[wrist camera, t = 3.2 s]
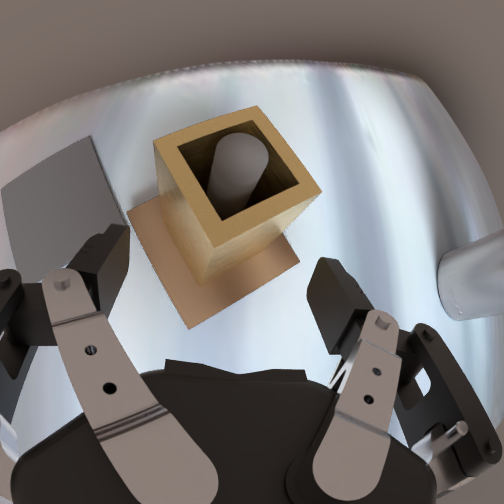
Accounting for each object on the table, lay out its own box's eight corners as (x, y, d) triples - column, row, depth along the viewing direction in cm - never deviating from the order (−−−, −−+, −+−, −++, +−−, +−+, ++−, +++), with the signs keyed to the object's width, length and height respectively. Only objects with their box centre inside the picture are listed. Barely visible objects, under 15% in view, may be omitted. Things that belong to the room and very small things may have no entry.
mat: (90, 138, 23) (89, 135, 22) (127, 229, 22) (126, 227, 21) (2, 191, 19) (0, 189, 19) (25, 290, 18) (22, 289, 18)
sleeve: (226, 192, 22) (257, 105, 13) (263, 251, 22) (322, 191, 12) (163, 222, 21) (153, 140, 11) (199, 287, 20) (214, 248, 11)
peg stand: (231, 173, 25) (271, 64, 13) (291, 267, 24) (386, 207, 12) (130, 221, 22) (91, 118, 10) (188, 329, 21) (194, 329, 9)
